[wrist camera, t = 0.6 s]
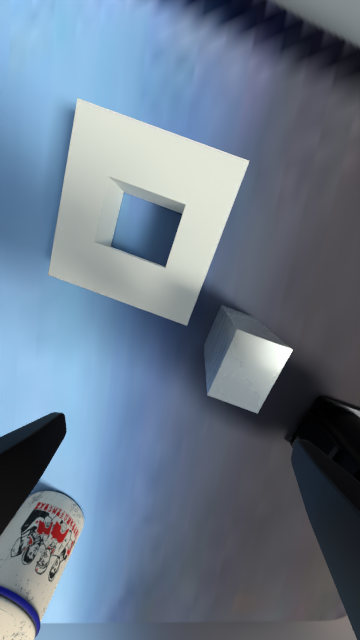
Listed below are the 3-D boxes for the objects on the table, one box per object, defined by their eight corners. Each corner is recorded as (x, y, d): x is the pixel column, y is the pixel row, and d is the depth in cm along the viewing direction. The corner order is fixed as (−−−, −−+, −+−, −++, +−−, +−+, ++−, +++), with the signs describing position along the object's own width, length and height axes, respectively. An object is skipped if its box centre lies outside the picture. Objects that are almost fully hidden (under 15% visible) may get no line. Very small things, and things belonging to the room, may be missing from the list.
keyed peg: (253, 316, 18) (292, 349, 11) (233, 358, 20) (256, 416, 12) (220, 304, 18) (237, 329, 11) (203, 347, 20) (206, 397, 12)
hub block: (240, 180, 16) (249, 160, 13) (188, 317, 19) (186, 325, 16) (99, 129, 16) (77, 98, 13) (71, 274, 19) (48, 274, 16)
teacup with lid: (100, 516, 27) (28, 695, 16) (63, 545, 29) (-23, 719, 18) (28, 462, 26) (-105, 614, 14) (-4, 496, 28) (-143, 651, 16)
